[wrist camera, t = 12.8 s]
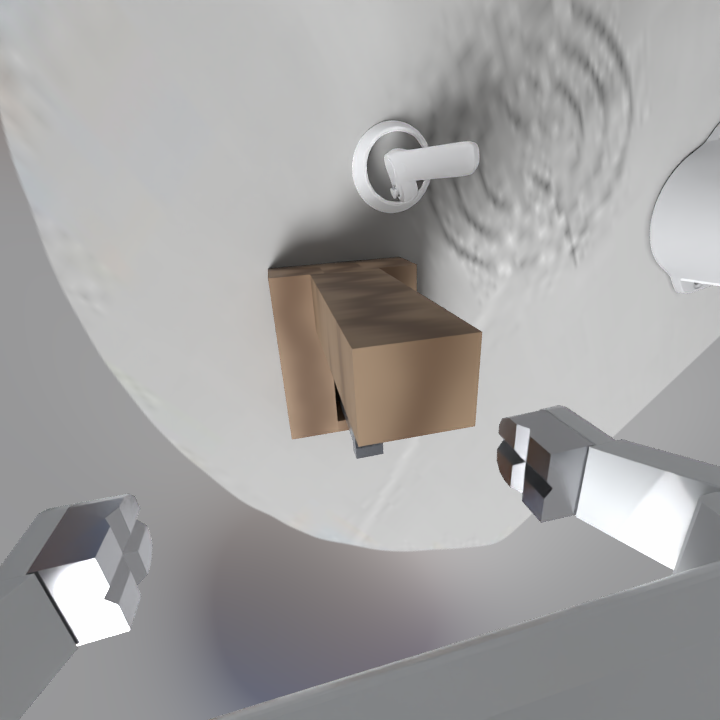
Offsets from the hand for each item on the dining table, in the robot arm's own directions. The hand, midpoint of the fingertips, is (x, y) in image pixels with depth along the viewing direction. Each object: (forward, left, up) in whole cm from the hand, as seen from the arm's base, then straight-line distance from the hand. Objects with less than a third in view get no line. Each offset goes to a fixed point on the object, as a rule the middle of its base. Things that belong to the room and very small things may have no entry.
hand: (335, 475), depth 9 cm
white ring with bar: (-11, -8, -31) cm, 34 cm away
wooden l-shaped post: (-5, +8, -31) cm, 32 cm away
